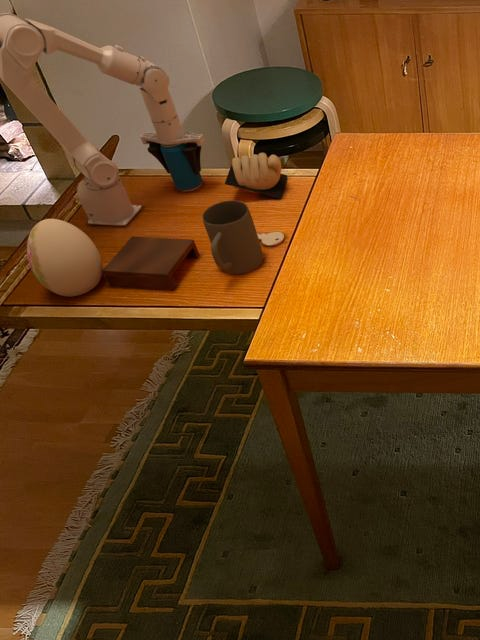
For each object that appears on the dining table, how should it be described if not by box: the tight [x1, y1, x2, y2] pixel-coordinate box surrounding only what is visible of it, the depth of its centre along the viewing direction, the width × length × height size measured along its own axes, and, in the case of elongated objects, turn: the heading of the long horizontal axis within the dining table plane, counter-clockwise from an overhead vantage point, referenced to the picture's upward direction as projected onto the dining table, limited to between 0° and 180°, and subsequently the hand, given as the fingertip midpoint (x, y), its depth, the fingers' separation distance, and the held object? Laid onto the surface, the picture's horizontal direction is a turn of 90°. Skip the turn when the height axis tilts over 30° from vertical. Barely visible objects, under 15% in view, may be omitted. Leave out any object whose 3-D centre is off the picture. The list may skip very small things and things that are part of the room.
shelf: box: [102, 236, 200, 291], centre depth 147 cm, size 14×12×4 cm
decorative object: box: [224, 152, 288, 200], centre depth 166 cm, size 13×10×10 cm
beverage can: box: [160, 143, 203, 193], centre depth 168 cm, size 6×6×12 cm
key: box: [257, 231, 285, 247], centre depth 155 cm, size 11×1×5 cm
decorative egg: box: [26, 218, 103, 298], centre depth 141 cm, size 12×12×15 cm
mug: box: [202, 200, 264, 275], centre depth 143 cm, size 14×9×12 cm
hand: (184, 171), depth 170 cm, fingers closed on beverage can, 6 cm apart
